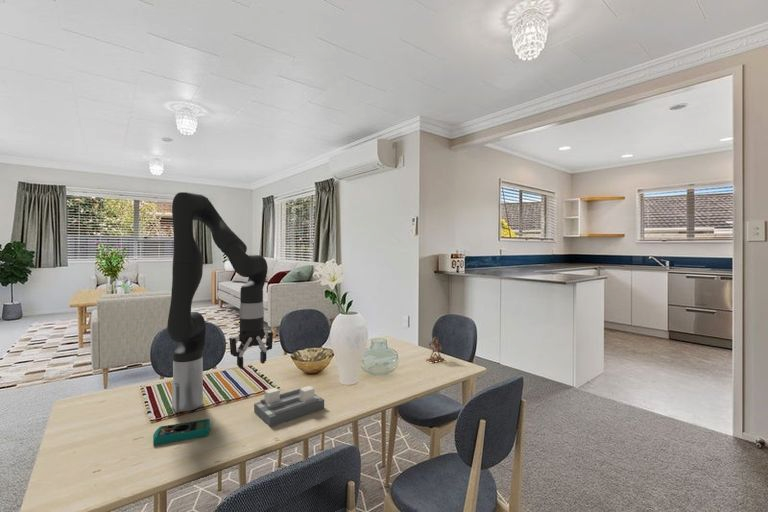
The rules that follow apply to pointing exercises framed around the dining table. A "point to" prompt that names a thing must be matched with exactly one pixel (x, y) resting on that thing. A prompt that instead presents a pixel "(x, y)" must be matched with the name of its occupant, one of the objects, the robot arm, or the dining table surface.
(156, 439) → the digital multimeter
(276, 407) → the switch panel
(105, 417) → the dining table surface
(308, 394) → the tab front
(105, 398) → the dining table surface
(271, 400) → the tab back
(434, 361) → the brown irregular upright piece
